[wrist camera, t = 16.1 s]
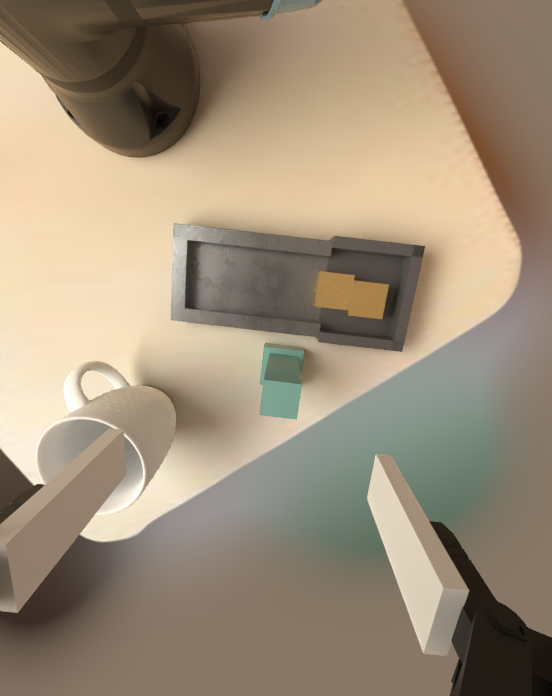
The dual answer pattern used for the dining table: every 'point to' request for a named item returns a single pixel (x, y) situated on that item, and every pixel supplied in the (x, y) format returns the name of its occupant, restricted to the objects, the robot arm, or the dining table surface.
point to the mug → (115, 413)
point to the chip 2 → (367, 300)
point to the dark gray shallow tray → (246, 279)
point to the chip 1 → (333, 290)
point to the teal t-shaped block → (281, 380)
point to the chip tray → (377, 267)
